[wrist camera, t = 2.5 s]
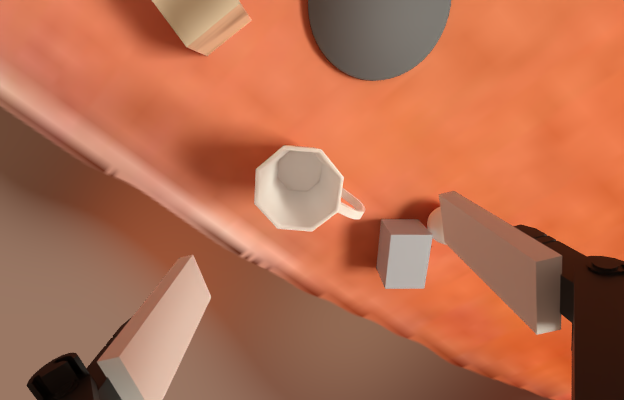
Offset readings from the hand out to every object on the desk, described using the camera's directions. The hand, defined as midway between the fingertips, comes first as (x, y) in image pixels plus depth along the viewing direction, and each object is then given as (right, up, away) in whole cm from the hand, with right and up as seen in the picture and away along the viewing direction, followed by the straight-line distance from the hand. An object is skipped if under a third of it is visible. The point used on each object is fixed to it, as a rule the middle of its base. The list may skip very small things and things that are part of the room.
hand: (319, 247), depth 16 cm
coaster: (+5, +19, +10) cm, 22 cm away
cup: (0, +5, +15) cm, 16 cm away
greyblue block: (+9, -2, +17) cm, 20 cm away
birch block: (-9, +19, +10) cm, 23 cm away
